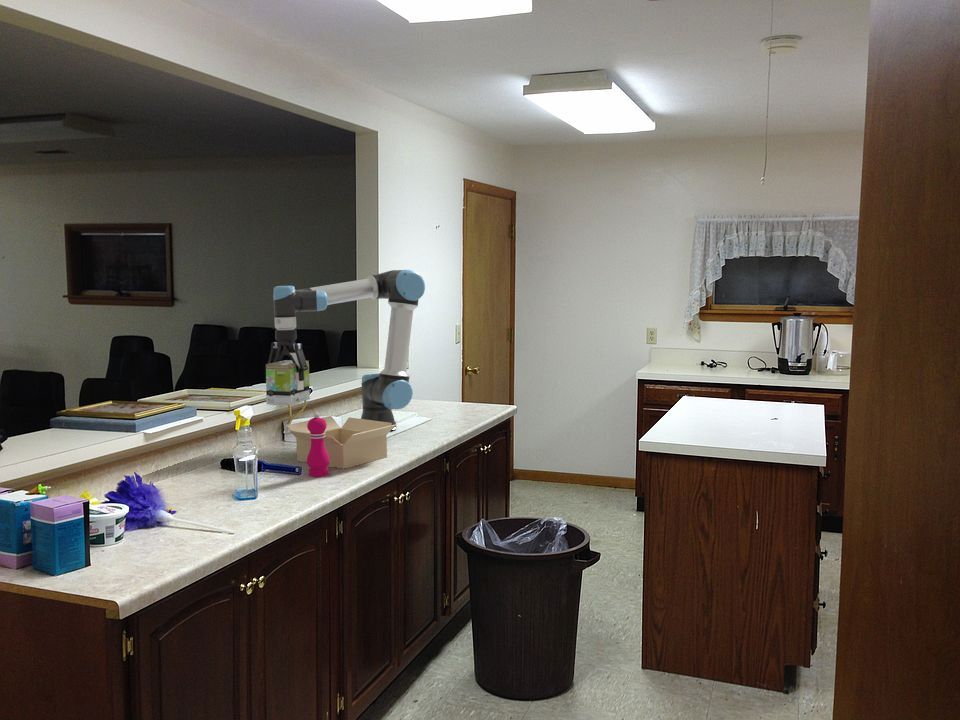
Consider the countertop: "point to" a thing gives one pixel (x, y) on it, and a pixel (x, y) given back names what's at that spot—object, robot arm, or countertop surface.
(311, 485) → the countertop surface
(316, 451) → the pepper mill
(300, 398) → the tea box
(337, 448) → the carton
